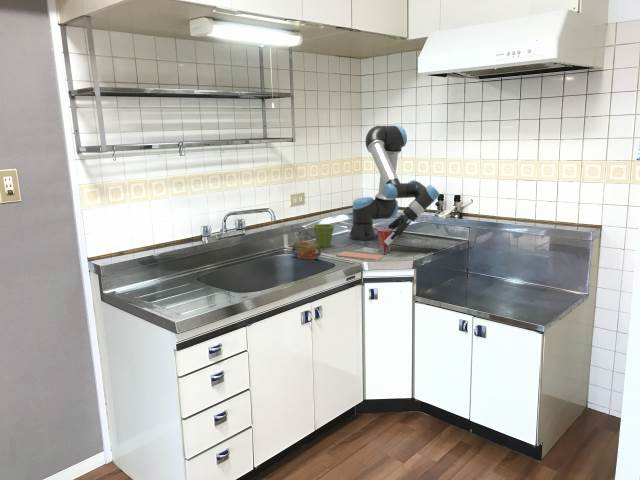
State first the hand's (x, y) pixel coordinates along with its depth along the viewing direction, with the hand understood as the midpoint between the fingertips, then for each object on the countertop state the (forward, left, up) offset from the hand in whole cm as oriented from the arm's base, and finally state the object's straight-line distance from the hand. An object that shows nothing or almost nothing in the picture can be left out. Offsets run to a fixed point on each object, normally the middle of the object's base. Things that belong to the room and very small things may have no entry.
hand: (383, 240), depth 268 cm
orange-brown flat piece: (+28, -29, -6) cm, 41 cm away
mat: (+13, -7, -6) cm, 16 cm away
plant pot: (-1, -34, -6) cm, 35 cm away
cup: (-1, 0, -6) cm, 6 cm away
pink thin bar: (+6, -7, -6) cm, 11 cm away
